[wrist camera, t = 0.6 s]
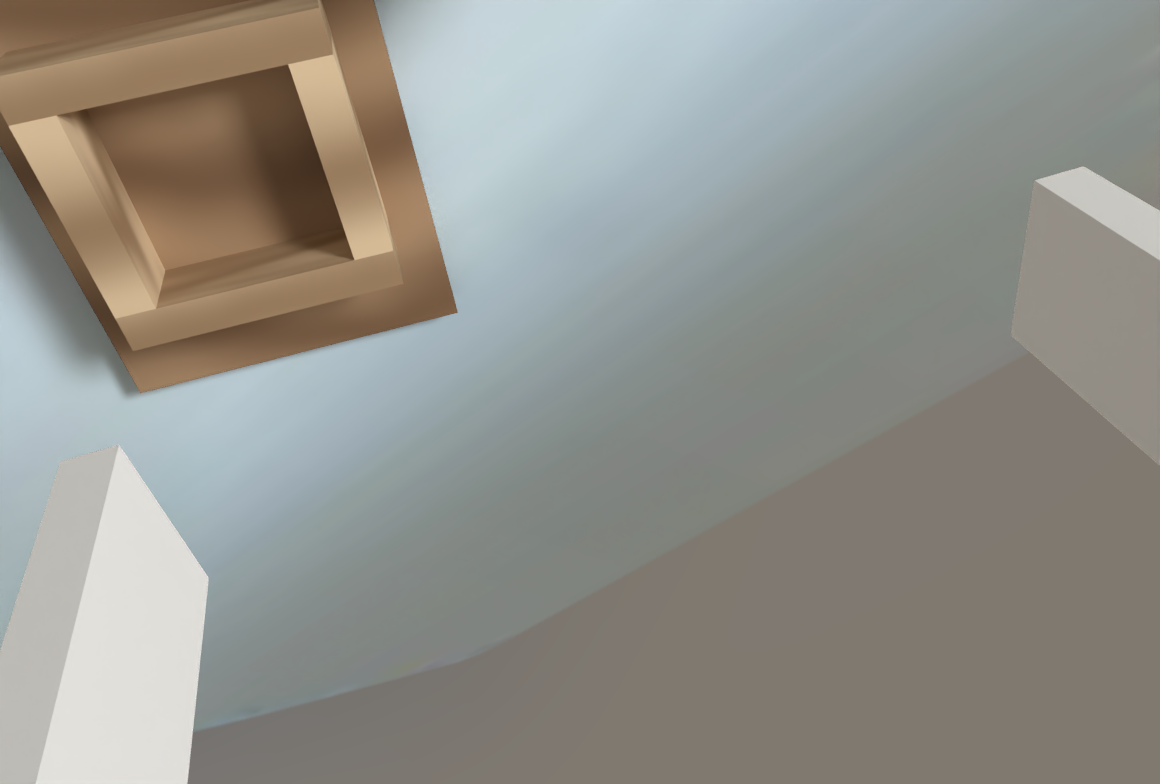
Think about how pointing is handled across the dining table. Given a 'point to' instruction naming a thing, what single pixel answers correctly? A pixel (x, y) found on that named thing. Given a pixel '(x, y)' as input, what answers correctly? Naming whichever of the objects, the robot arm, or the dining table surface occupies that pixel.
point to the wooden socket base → (221, 175)
